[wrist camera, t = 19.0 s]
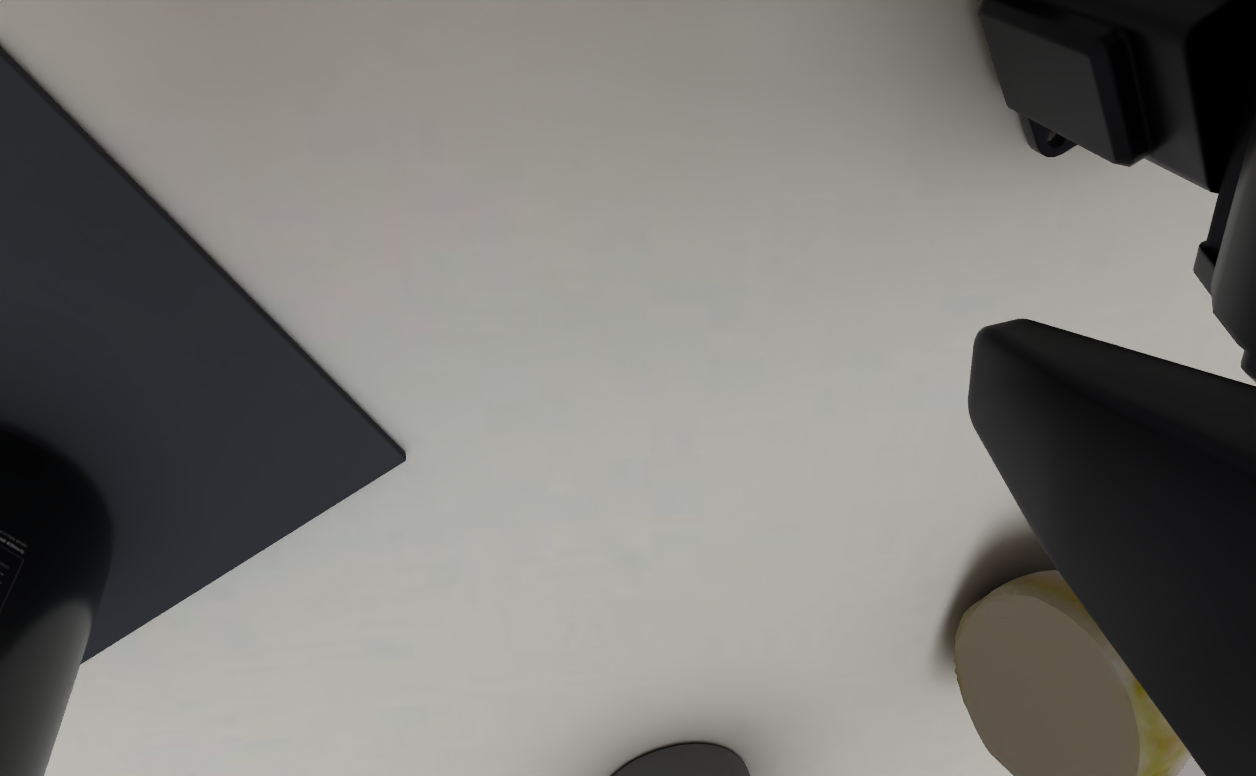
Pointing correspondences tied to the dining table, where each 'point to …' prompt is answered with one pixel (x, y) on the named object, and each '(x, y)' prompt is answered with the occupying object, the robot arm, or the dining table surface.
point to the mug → (1056, 688)
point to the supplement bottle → (43, 596)
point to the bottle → (687, 762)
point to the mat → (154, 373)
